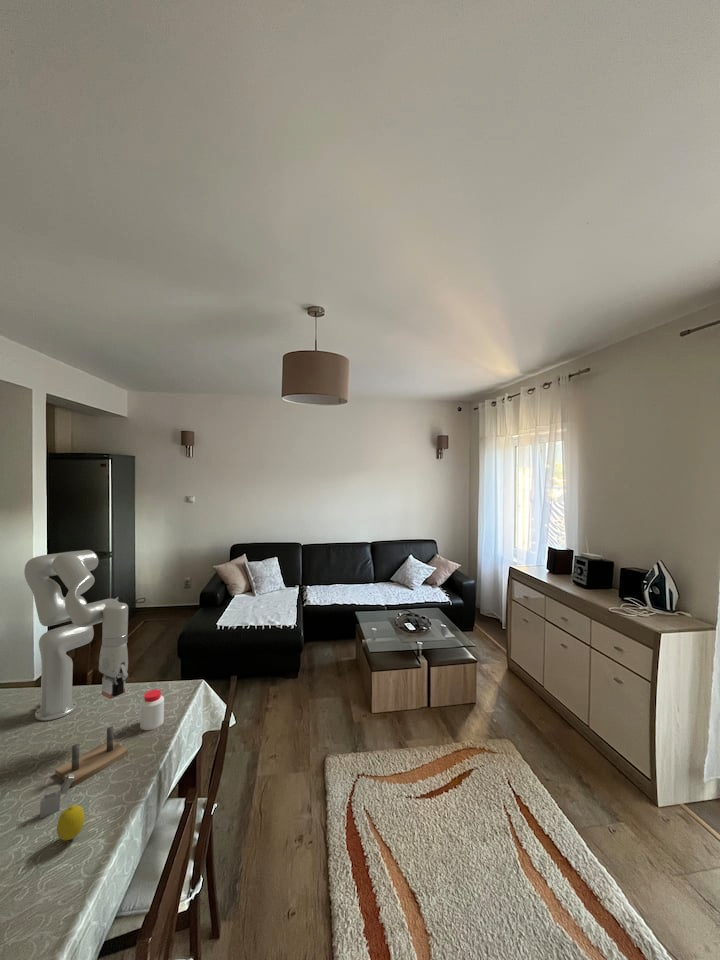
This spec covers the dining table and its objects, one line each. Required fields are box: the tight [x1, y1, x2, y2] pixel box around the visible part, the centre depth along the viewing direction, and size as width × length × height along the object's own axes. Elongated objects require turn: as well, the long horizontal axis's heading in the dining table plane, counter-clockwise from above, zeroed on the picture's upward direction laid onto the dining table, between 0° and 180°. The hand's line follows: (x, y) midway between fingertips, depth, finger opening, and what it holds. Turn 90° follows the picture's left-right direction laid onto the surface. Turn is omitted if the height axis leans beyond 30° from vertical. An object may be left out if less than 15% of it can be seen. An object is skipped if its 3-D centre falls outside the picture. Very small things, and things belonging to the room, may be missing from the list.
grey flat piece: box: [39, 774, 74, 819], centre depth 107 cm, size 7×2×8 cm, turn 130°
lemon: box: [56, 804, 86, 841], centre depth 98 cm, size 6×6×8 cm
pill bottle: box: [139, 689, 165, 731], centre depth 145 cm, size 8×8×11 cm
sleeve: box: [101, 676, 126, 700], centre depth 137 cm, size 5×5×6 cm
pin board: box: [54, 726, 129, 788], centre depth 124 cm, size 10×16×8 cm, turn 151°
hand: (113, 691), depth 137 cm, fingers closed on sleeve, 5 cm apart
